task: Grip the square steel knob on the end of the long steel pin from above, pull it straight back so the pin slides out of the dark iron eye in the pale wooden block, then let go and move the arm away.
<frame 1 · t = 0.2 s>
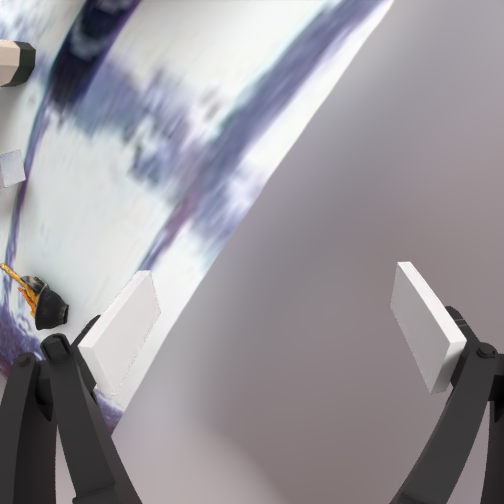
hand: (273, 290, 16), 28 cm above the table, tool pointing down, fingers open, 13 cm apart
wine bottle: (21, 64, 35), on the table
fried shrimp in bowl: (42, 284, 53), on the table
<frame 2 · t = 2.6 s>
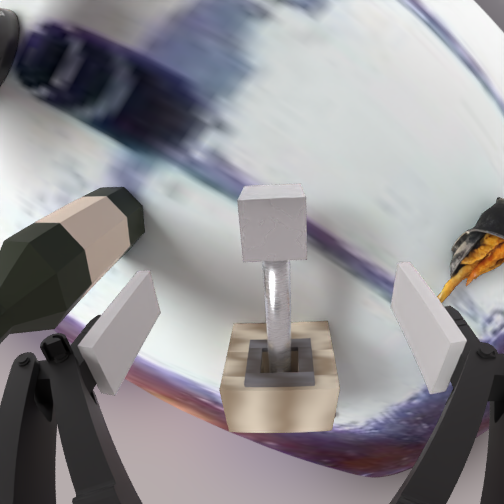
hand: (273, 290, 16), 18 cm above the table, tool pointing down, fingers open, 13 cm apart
pull pin: (278, 321, 30), point 7 cm above the table, slide at 0.0 cm
wine bottle: (116, 217, 35), on the table
eye block: (281, 346, 41), on the table
fried shrimp in bowl: (462, 249, 33), on the table
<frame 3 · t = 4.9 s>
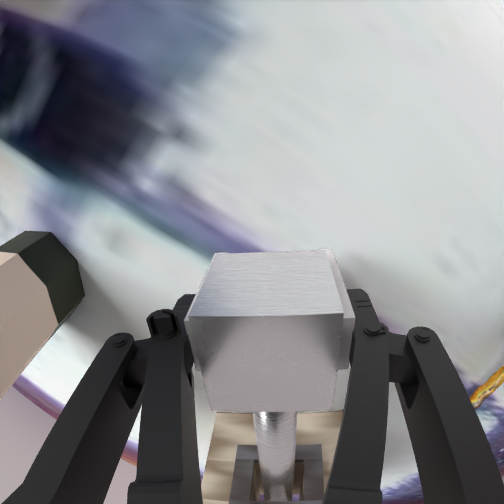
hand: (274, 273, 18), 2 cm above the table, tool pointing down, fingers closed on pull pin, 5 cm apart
pull pin: (276, 450, 17), point 7 cm above the table, slide at 0.0 cm, touching gripper
wine bottle: (48, 273, 23), on the table
eye block: (281, 435, 28), on the table
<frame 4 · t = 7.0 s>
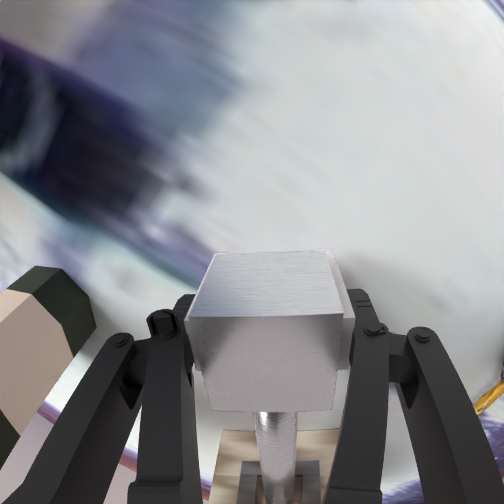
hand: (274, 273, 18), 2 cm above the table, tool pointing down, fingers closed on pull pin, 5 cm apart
pull pin: (277, 450, 17), point 8 cm above the table, slide at 3.1 cm, touching gripper
wine bottle: (59, 305, 24), on the table
eye block: (282, 450, 29), on the table
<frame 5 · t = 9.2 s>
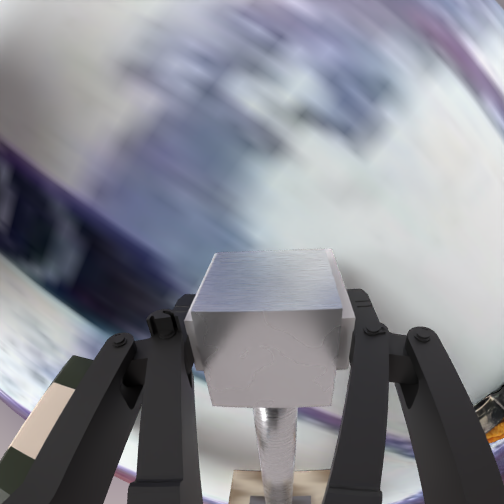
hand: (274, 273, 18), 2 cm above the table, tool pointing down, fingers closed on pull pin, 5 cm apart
pull pin: (276, 448, 17), point 7 cm above the table, slide at 13.1 cm, touching gripper
wine bottle: (96, 383, 28), on the table
eye block: (281, 483, 33), on the table
fried shrimp in bowl: (482, 403, 26), on the table
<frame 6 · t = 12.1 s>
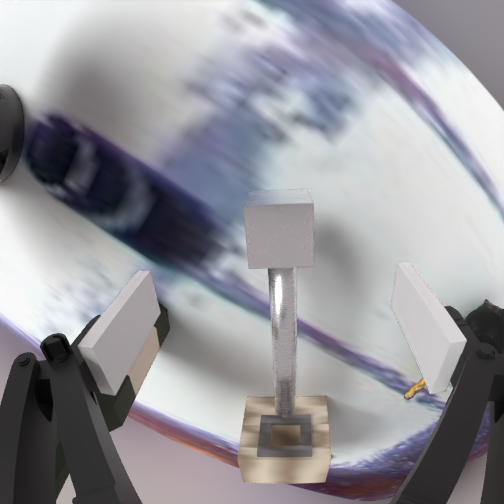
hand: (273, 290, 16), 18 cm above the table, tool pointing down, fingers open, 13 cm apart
pull pin: (284, 329, 29), point 7 cm above the table, slide at 13.2 cm
wine bottle: (142, 315, 40), on the table
eye block: (286, 412, 45), on the table
fried shrimp in bowl: (448, 339, 37), on the table
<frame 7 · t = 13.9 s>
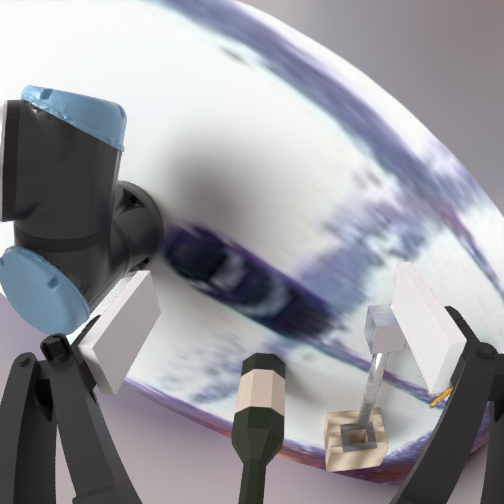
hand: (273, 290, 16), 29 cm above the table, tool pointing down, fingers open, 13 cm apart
pull pin: (375, 377, 46), point 7 cm above the table, slide at 13.2 cm
wine bottle: (263, 367, 56), on the table
eye block: (351, 420, 61), on the table
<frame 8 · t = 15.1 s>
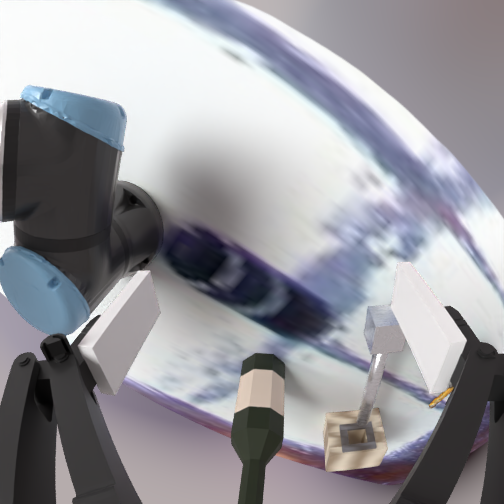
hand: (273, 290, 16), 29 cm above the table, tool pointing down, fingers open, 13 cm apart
pull pin: (374, 377, 46), point 8 cm above the table, slide at 13.2 cm
wine bottle: (263, 367, 56), on the table
eye block: (350, 420, 61), on the table
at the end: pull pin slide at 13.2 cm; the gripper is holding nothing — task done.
